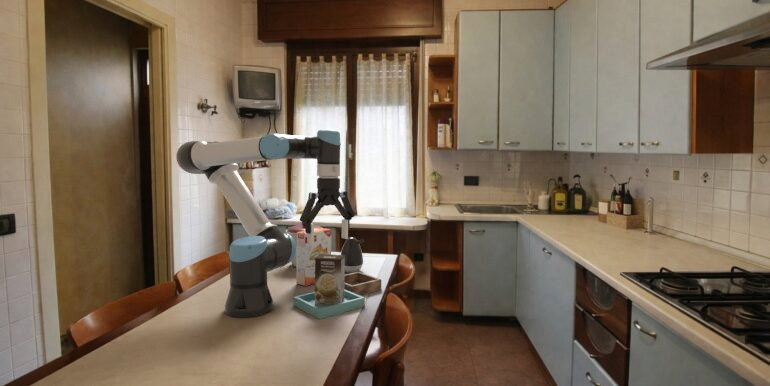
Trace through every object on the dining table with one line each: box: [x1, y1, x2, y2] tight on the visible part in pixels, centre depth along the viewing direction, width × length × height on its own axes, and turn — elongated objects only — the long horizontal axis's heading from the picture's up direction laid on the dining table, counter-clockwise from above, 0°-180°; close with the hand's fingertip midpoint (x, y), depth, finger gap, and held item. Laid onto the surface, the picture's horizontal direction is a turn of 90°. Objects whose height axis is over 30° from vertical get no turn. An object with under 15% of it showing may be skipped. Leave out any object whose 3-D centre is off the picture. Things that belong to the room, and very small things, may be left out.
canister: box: [285, 221, 323, 267], centre depth 198 cm, size 18×18×21 cm
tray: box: [293, 289, 366, 320], centre depth 145 cm, size 18×16×3 cm
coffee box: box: [314, 253, 345, 306], centre depth 145 cm, size 9×6×16 cm
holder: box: [344, 271, 382, 296], centre depth 164 cm, size 14×14×4 cm
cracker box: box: [295, 227, 332, 287], centre depth 172 cm, size 14×6×21 cm, turn 141°
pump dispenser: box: [340, 236, 364, 274], centre depth 188 cm, size 10×10×15 cm
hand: (328, 240), depth 144 cm, fingers open, 13 cm apart
